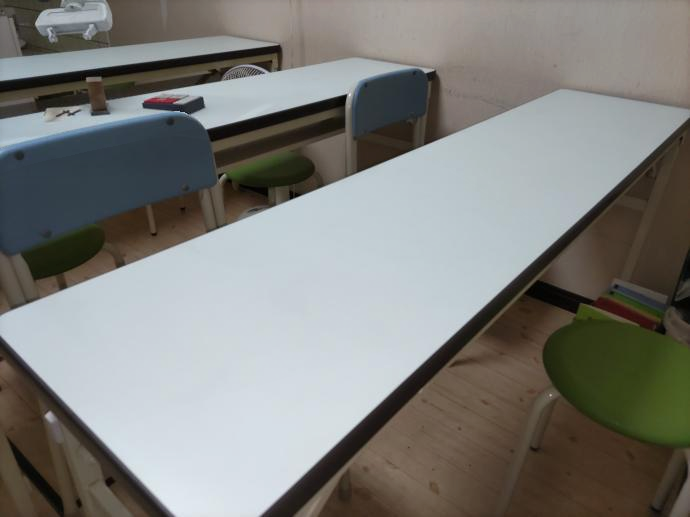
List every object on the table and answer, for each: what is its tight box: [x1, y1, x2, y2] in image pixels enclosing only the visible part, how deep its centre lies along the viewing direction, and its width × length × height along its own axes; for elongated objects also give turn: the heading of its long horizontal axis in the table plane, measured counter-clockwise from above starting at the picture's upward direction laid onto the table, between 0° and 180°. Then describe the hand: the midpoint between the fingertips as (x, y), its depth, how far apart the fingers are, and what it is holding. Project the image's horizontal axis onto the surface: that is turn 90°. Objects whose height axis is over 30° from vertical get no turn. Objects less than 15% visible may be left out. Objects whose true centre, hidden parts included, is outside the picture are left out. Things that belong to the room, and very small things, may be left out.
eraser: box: [85, 76, 111, 117], centre depth 148 cm, size 5×10×9 cm, turn 23°
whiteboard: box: [42, 105, 90, 124], centre depth 149 cm, size 20×16×1 cm
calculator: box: [141, 93, 206, 115], centre depth 157 cm, size 11×4×15 cm
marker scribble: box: [56, 109, 82, 117], centre depth 148 cm, size 6×5×1 cm
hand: (69, 39), depth 141 cm, fingers open, 8 cm apart
